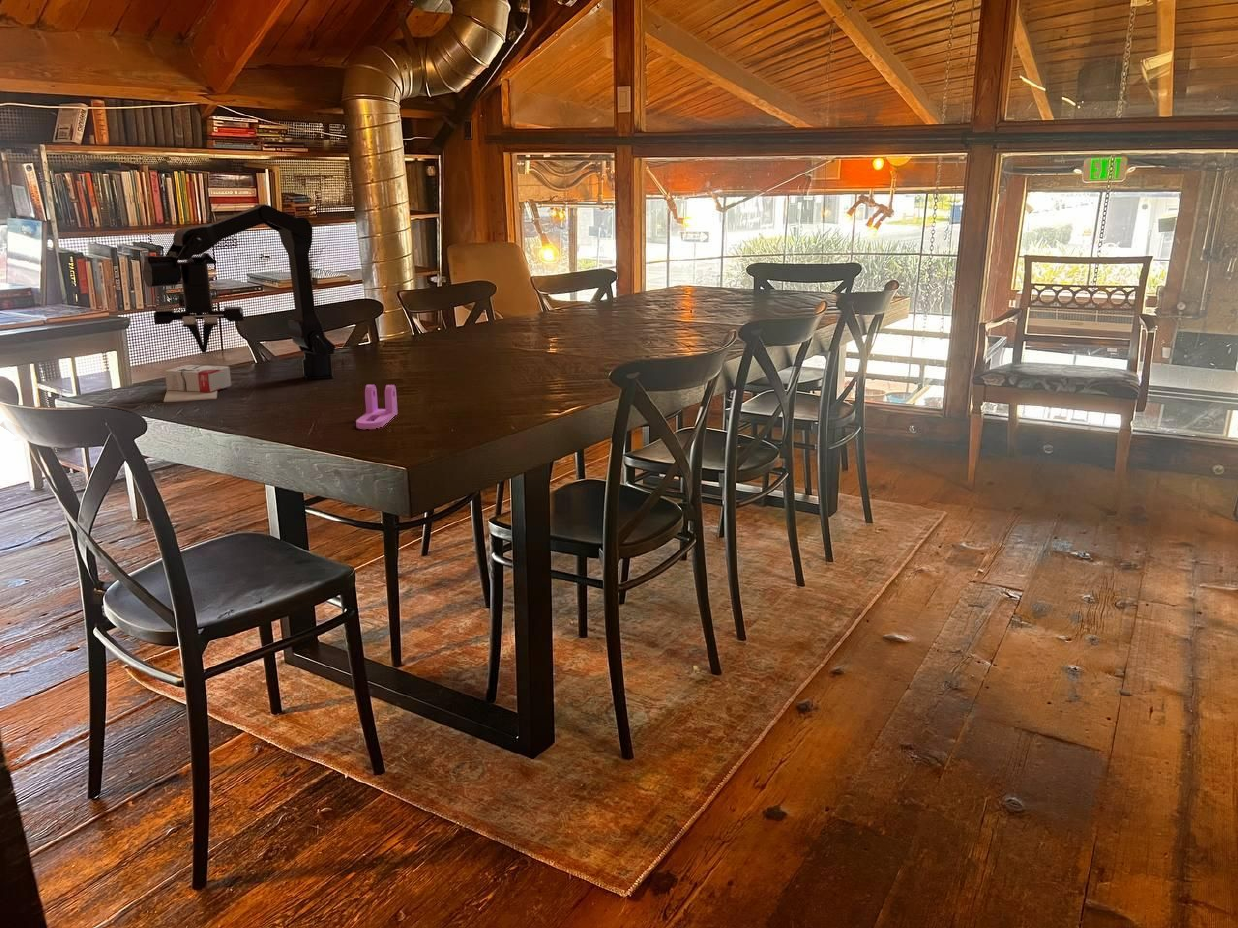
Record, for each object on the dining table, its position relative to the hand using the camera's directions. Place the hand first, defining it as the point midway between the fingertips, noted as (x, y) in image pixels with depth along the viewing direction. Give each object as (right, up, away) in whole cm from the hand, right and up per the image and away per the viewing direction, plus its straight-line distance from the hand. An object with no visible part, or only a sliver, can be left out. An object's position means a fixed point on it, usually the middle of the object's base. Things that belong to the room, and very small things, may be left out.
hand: (204, 352), depth 216 cm
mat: (-3, -9, +1) cm, 10 cm away
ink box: (+2, -6, +4) cm, 8 cm away
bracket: (+46, -18, -24) cm, 55 cm away
